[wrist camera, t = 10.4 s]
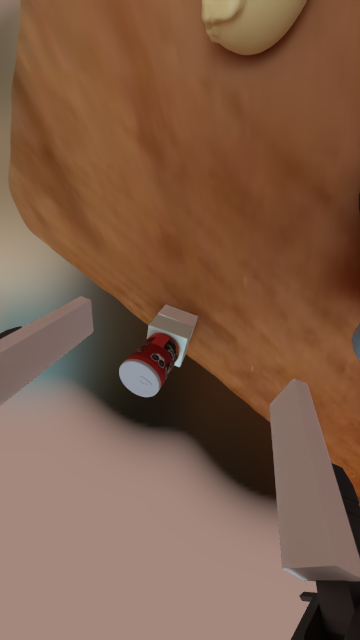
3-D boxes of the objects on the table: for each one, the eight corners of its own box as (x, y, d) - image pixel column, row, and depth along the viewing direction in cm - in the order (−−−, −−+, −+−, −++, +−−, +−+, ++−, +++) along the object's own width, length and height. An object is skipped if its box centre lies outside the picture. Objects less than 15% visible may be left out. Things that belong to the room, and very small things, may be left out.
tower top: (193, 326, 43) (187, 339, 39) (185, 353, 48) (179, 367, 44) (157, 313, 44) (148, 324, 40) (153, 341, 50) (145, 353, 46)
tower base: (198, 316, 47) (193, 326, 43) (189, 341, 52) (184, 353, 48) (165, 304, 48) (158, 313, 44) (160, 330, 54) (152, 340, 50)
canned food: (179, 365, 42) (159, 402, 33) (147, 357, 45) (120, 389, 35) (181, 336, 39) (159, 368, 30) (147, 328, 41) (116, 356, 32)
